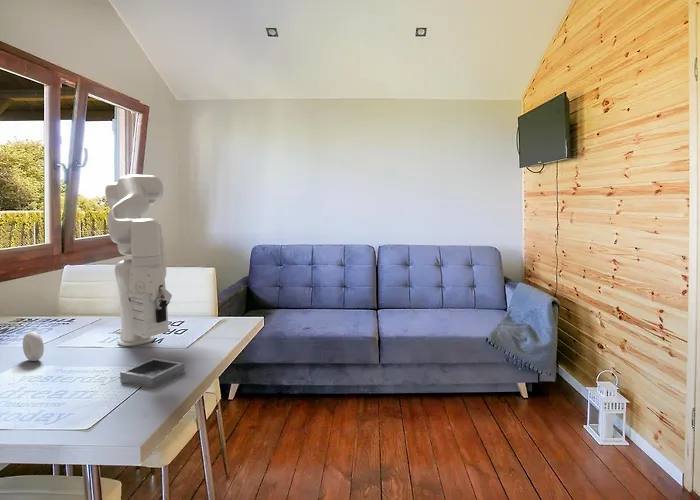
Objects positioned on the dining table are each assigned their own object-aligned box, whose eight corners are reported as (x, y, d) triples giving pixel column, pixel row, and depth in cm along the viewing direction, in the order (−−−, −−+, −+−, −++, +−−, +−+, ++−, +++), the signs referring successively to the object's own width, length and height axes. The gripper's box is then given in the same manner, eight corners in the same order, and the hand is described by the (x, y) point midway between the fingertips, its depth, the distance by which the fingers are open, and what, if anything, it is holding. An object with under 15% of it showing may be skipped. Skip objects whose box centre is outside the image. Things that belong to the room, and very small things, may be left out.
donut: (47, 362, 142) (44, 332, 141) (35, 365, 139) (32, 335, 138) (33, 356, 147) (31, 328, 146) (22, 359, 144) (19, 330, 143)
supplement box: (155, 328, 132) (153, 288, 130) (169, 332, 128) (167, 290, 126) (131, 334, 126) (129, 292, 124) (145, 338, 121) (143, 295, 120)
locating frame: (120, 382, 125) (120, 372, 124) (154, 367, 136) (153, 358, 136) (152, 388, 120) (152, 378, 120) (184, 372, 132) (184, 363, 131)
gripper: (113, 262, 124) (117, 320, 126) (159, 264, 118) (162, 326, 120) (135, 259, 131) (138, 314, 133) (179, 261, 125) (182, 319, 126)
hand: (150, 320), depth 126 cm, fingers closed on supplement box, 8 cm apart
